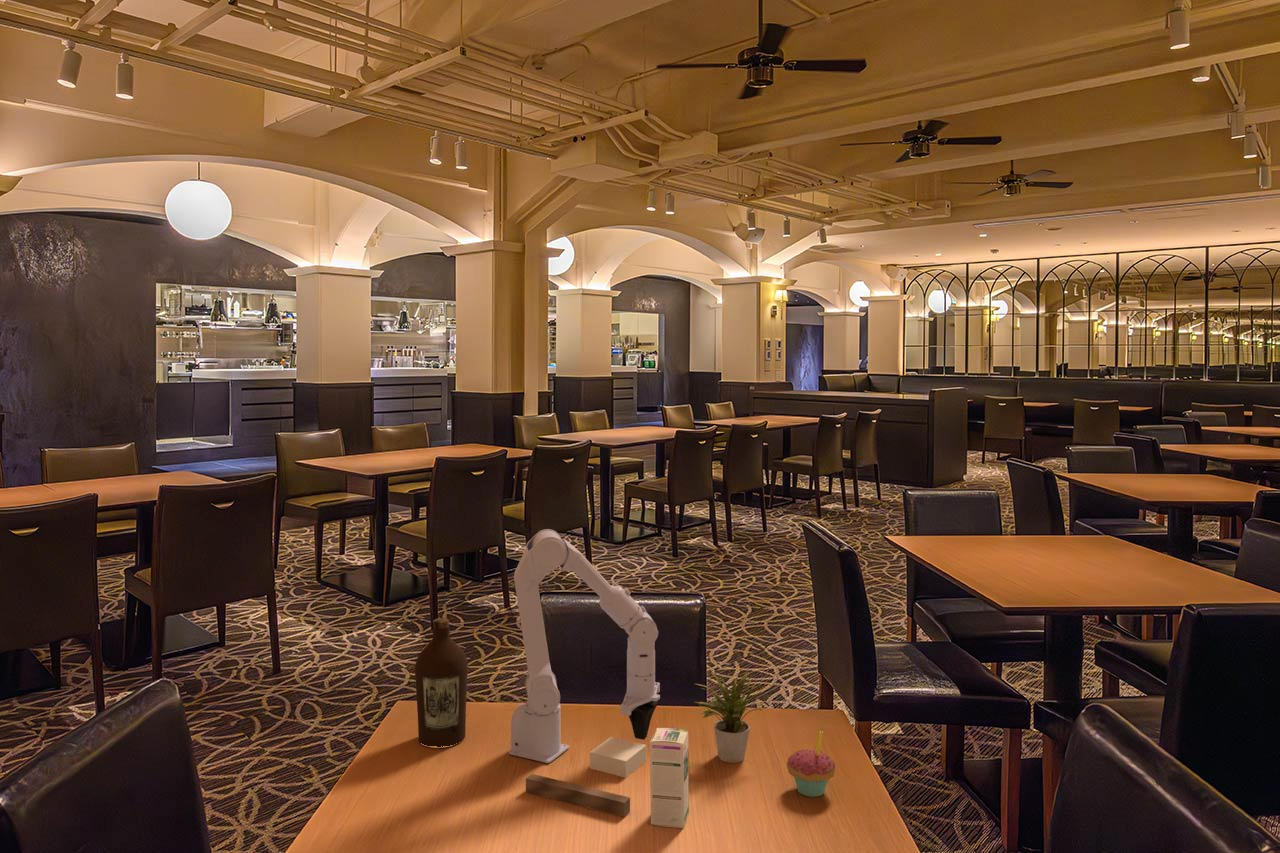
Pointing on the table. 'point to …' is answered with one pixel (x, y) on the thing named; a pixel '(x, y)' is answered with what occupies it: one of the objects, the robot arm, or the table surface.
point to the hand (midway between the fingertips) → (640, 737)
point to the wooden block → (618, 757)
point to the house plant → (730, 720)
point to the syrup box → (669, 777)
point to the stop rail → (578, 795)
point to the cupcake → (811, 770)
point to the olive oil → (441, 689)
